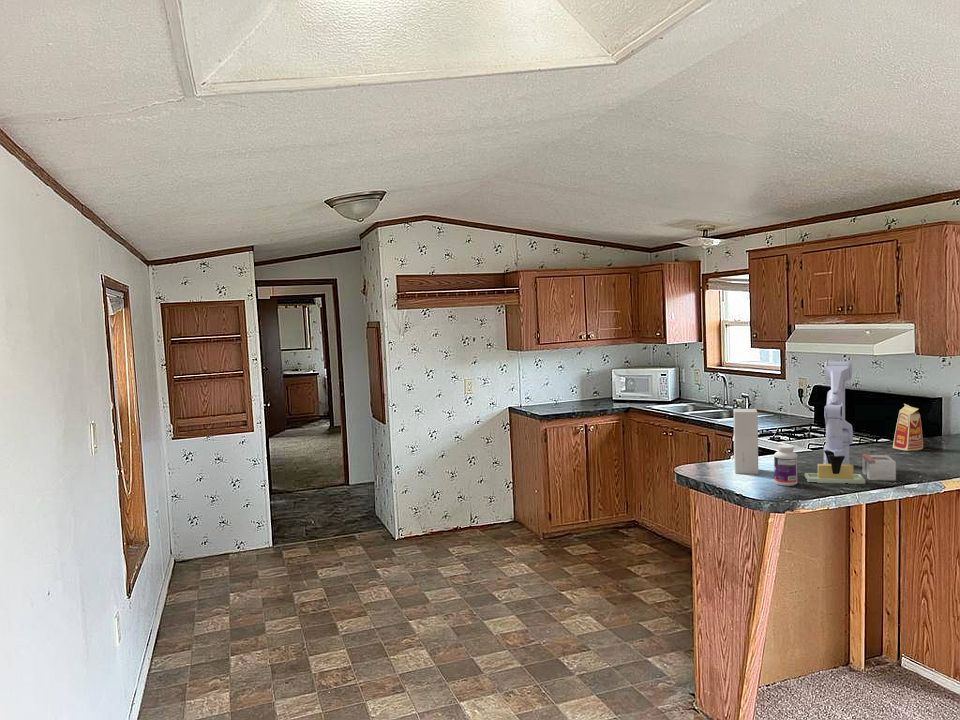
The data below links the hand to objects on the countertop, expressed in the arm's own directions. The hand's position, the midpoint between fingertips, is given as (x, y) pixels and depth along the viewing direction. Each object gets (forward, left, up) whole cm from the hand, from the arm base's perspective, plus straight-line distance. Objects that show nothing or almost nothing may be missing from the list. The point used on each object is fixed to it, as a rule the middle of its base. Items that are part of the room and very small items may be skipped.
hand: (834, 471), depth 293 cm
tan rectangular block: (0, 0, -3) cm, 3 cm away
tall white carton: (-31, +12, -4) cm, 33 cm away
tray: (0, 0, -3) cm, 3 cm away
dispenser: (+17, +8, -3) cm, 19 cm away
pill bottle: (-18, -8, -4) cm, 20 cm away
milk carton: (+41, +66, -4) cm, 78 cm away
